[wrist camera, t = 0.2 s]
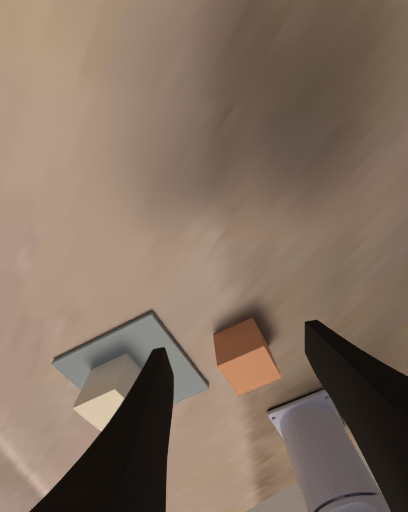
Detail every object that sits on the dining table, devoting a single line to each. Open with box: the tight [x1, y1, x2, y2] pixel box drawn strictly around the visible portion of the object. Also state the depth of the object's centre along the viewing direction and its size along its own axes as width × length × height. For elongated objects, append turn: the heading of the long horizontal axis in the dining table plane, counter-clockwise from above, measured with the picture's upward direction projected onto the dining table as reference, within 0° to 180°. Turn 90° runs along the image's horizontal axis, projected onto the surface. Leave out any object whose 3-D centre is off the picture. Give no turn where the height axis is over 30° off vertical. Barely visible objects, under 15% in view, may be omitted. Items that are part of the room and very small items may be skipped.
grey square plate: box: [51, 312, 209, 404], centre depth 25 cm, size 12×12×1 cm
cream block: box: [73, 353, 142, 432], centre depth 22 cm, size 4×4×4 cm
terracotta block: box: [213, 317, 282, 396], centre depth 22 cm, size 4×4×4 cm
